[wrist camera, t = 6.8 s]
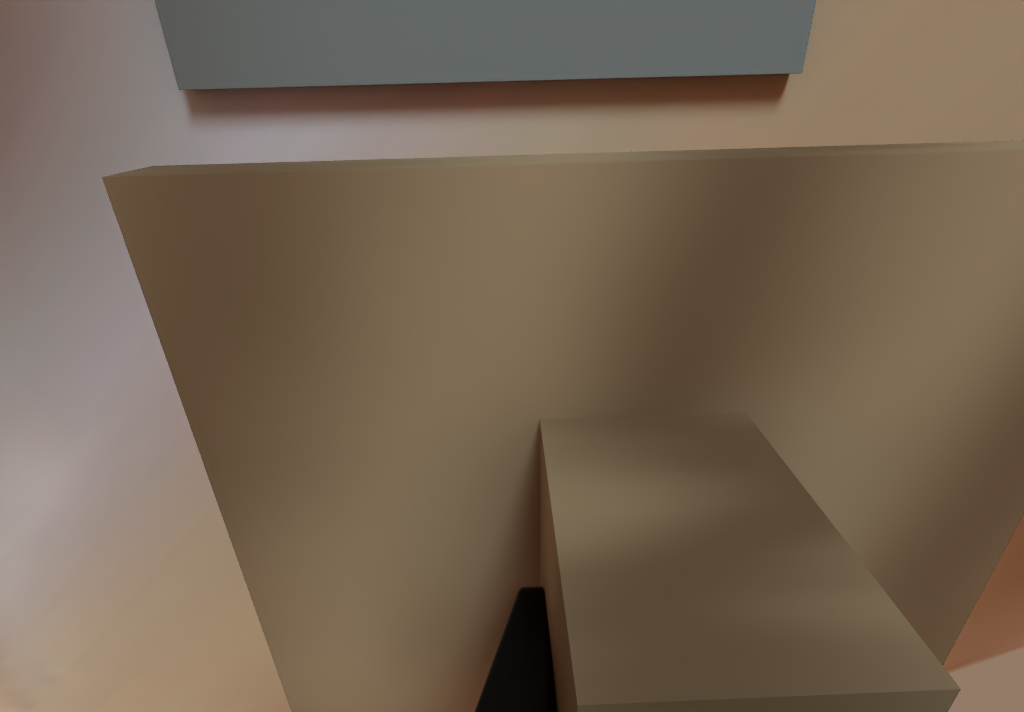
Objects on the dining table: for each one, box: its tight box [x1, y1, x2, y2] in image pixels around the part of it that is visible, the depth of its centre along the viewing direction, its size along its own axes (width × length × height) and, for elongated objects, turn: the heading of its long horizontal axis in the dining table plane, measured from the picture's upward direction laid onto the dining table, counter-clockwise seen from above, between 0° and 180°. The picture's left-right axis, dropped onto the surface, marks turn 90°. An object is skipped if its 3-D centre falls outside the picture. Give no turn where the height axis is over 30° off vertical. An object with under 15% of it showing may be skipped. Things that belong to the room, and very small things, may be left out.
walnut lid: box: [102, 141, 1024, 712], centre depth 8 cm, size 13×13×5 cm
